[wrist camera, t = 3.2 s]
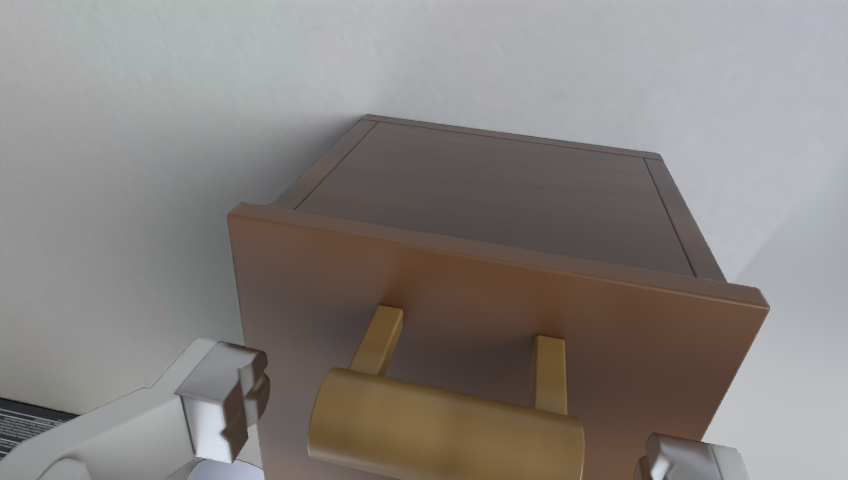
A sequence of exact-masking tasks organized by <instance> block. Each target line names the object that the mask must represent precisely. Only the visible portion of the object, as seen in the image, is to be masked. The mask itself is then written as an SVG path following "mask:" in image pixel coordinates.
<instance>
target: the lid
mask: <svg viewBox="0 0 848 480" xmlns="http://www.w3.org/2000/svg"><path fill="white" fill-rule="evenodd" d="M227 221H228V228H229V235H230V242H231V249H232V256H233V263H234V270H235V277H236V284H237V291H238V298H239V305H240V312H241V319H242V326H243V333H244V340H245V347H249V348H253V349H257V350H261V351H264V352H266V354H267V360H268V365H267V367H266V368H265V370H264V373H265V374H266V375H267V376H268V377H269V379H270V396H269V400H268V403H267V406H266V409H265V411H264V413H263V414H262V416H261V418H260V420H259V421H258V422H256V424H257V431H258V438H259V445H260V452H261V459H262V466H263V473H264V480H633V475H634V469H635V467H636V464H637V462H638V459H640V458H642V457H644V456H646V455H647V452H646V447H645V443H646V441H647V439H648V437H649V435H650V434H652V433H653V432H655V433H660V434H666V435H671V436H676V437H681V438H686V439H691V440H696V441H701V440H702V438H703V436H704V434H705V432H706V430H707V428H708V426H709V425H710V423H711V421H712V419H713V417H714V415H715V413H716V411H717V409H718V408H719V405H720V404H721V402H722V400H723V398H724V396H725V394H726V392H727V390H728V388H729V387H730V385H731V383H732V381H733V379H734V377H735V375H736V373H737V371H738V369H739V368H740V366H741V364H742V362H743V360H744V358H745V356H746V354H747V352H748V351H749V349H750V347H751V345H752V343H753V341H754V339H755V337H756V335H757V333H758V332H759V329H760V328H761V326H762V324H763V322H764V320H765V318H766V316H767V314H768V313H769V310H770V306H769V304H768V303H767V301H766V299H765V298H764V296H763V294H762V293H761V291H760V290H759V289H758V288H755V287H749V286H744V285H738V284H732V283H726V282H720V281H714V280H708V279H702V278H696V277H690V276H684V275H678V274H672V273H666V272H660V271H654V270H648V269H642V268H636V267H630V266H624V265H618V264H612V263H606V262H600V261H594V260H588V259H582V258H576V257H570V256H564V255H558V254H552V253H546V252H540V251H534V250H528V249H522V248H516V247H510V246H504V245H498V244H492V243H486V242H480V241H474V240H468V239H462V238H456V237H450V236H444V235H438V234H432V233H426V232H420V231H414V230H408V229H402V228H396V227H390V226H384V225H378V224H372V223H366V222H360V221H354V220H348V219H342V218H336V217H330V216H324V215H318V214H312V213H306V212H300V211H294V210H288V209H282V208H276V207H270V206H264V205H258V204H252V203H246V202H242V203H240V204H239V205H238V206H236V207H235V208H234V209H233V210H232V211H231V212H229V213H228V215H227Z"/></svg>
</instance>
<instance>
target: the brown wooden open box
mask: <svg viewBox="0 0 848 480" xmlns="http://www.w3.org/2000/svg"><path fill="white" fill-rule="evenodd" d="M269 206H270V207H276V208H282V209H288V210H294V211H300V212H306V213H312V214H318V215H324V216H330V217H336V218H342V219H348V220H354V221H360V222H366V223H372V224H378V225H384V226H390V227H396V228H402V229H408V230H414V231H420V232H426V233H432V234H438V235H444V236H450V237H456V238H462V239H468V240H474V241H480V242H486V243H492V244H498V245H504V246H510V247H516V248H522V249H528V250H534V251H540V252H546V253H552V254H558V255H564V256H570V257H576V258H582V259H588V260H594V261H600V262H606V263H612V264H618V265H624V266H630V267H636V268H642V269H648V270H654V271H660V272H666V273H672V274H678V275H684V276H690V277H696V278H702V279H708V280H714V281H720V282H726V283H728V282H727V280H726V279H725V277H724V275H723V273H722V271H721V269H720V267H719V265H718V263H717V262H716V260H715V258H714V256H713V254H712V252H711V250H710V248H709V246H708V244H707V243H706V241H705V239H704V237H703V235H702V233H701V231H700V229H699V227H698V226H697V224H696V222H695V220H694V218H693V216H692V214H691V212H690V210H689V209H688V207H687V205H686V203H685V201H684V199H683V197H682V195H681V193H680V191H679V190H678V188H677V186H676V184H675V182H674V180H673V178H672V176H671V174H670V173H669V171H668V169H667V167H666V165H665V163H664V161H663V159H662V157H661V155H660V154H657V153H649V152H642V151H635V150H627V149H620V148H613V147H605V146H598V145H590V144H583V143H576V142H568V141H561V140H554V139H546V138H539V137H531V136H524V135H517V134H509V133H502V132H494V131H487V130H480V129H472V128H465V127H458V126H450V125H443V124H435V123H428V122H421V121H413V120H406V119H398V118H391V117H384V116H376V115H369V114H367V115H366V116H365V117H364V118H362V120H360V121H359V122H358V123H357V124H356V125H355V126H354V127H353V128H352V129H351V130H350V131H349V132H348V133H346V134H345V135H344V136H343V137H342V138H341V139H340V140H339V141H338V142H337V143H336V144H335V145H334V146H333V147H332V148H330V149H329V150H328V151H327V152H326V153H325V154H324V155H323V156H322V157H321V158H320V159H319V160H318V161H317V162H315V163H314V164H313V165H312V166H311V167H310V168H309V169H308V170H307V171H306V172H305V173H304V174H303V175H302V176H300V177H299V178H298V179H297V180H296V181H295V182H294V183H293V184H292V185H291V186H290V187H289V188H288V189H287V190H286V191H284V192H283V193H282V194H281V195H280V196H279V197H278V198H277V199H276V200H275V201H274V202H273V203H272V204H271V205H269Z"/></svg>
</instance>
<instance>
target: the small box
mask: <svg viewBox="0 0 848 480" xmlns="http://www.w3.org/2000/svg"><path fill="white" fill-rule="evenodd" d="M76 417H79V416H75V415H70V414H66V413H62V412H57V411H52V410H48V409H43V408H38V407H34V406H29V405H25V404H20V403H16V402H11V401H7V400H2V399H0V461H1V460H2V459H3V458H4V457H5V456H6V455H7V454H8V453H9V452H10V451H11V450H12V449H14V448H15V447H16V446H17V445H18V444H19V443H21V442H23V441H25V440H28V439H30V438H32V437H34V436H37V435H39V434H41V433H43V432H45V431H48V430H50V429H52V428H54V427H56V426H59V425H61V424H63V423H65V422H68V421H70V420H72V419H74V418H76Z"/></svg>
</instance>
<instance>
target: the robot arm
mask: <svg viewBox="0 0 848 480" xmlns="http://www.w3.org/2000/svg"><path fill="white" fill-rule="evenodd" d="M267 365H268V360H267V354H266V352H264V351H261V350H257V349H253V348H249V347H245V346H240V345H236V344H232V343H228V342H223V341H218V340H213V339H209V338H205V337H199V338H197V339H195V340H194V341H193V342H192V343H191V344H190V345H189V346H188V347H187V348H186V349H185V350H184V351H183V353H182V354H181V355H180V356H179V357H178V358H177V359H176V360H175V361H174V362H173V364H172V365H171V366H170V367H169V368H168V369H167V370H166V371H165V372H164V373H163V375H162V376H161V377H160V378H159V379H158V380H157V381H156V382H155V383H154V384H153V386H152V387H151V388H145V387H143V388H141V389H138V390H136V391H134V392H132V393H130V394H127V395H125V396H123V397H121V398H119V399H116V400H114V401H112V402H110V403H107V404H105V405H103V406H101V407H99V408H96V409H94V410H92V411H90V412H87V413H85V414H83V415H81V416H79V417H76V418H74V419H72V420H70V421H68V422H65V423H63V424H61V425H59V426H56V427H54V428H52V429H50V430H48V431H45V432H43V433H41V434H39V435H37V436H34V437H32V438H30V439H28V440H25V441H23V442H21V443H19V444H18V445H17V446H16V447H15V448H14V449H12V450H11V451H10V452H9V453H8V454H7V455H6V456H5V457H4V458H3V459H2V460H1V461H0V480H164V479H166V478H167V477H169V476H170V475H171V474H173V473H174V472H176V471H177V470H179V469H180V468H181V467H183V466H184V465H186V464H187V463H189V462H190V461H192V460H193V459H194V456H197V457H201V458H206V459H211V460H215V461H220V462H225V463H229V464H233V462H234V460H235V459H236V457H237V456H238V454H239V452H240V451H241V449H242V447H243V446H244V444H245V443H246V441H247V439H248V432H247V428H248V427H250V426H251V425H253V424H255V423H256V422H258V421H259V420H260V418H261V416H262V414H263V413H264V411H265V409H266V406H267V403H268V400H269V396H270V379H269V377H268V376H267V375H266V374H265V373H264V370H265V368H266V367H267ZM645 447H646V452H647V455H646V456H644V457H642V458H640V459H638V462H637V464H636V467H635V469H634V475H633V480H750V478H749V476H748V473H747V471H746V468H745V465H744V463H743V460H742V458H741V455H740V453H739V452H738V451H737V450H736V449H735V448H730V447H725V446H720V445H715V444H710V443H704V442H701V441H696V440H691V439H686V438H681V437H676V436H671V435H666V434H660V433H655V432H653V433H652V434H650V435H649V437H648V439H647V441H646V443H645Z"/></svg>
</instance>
